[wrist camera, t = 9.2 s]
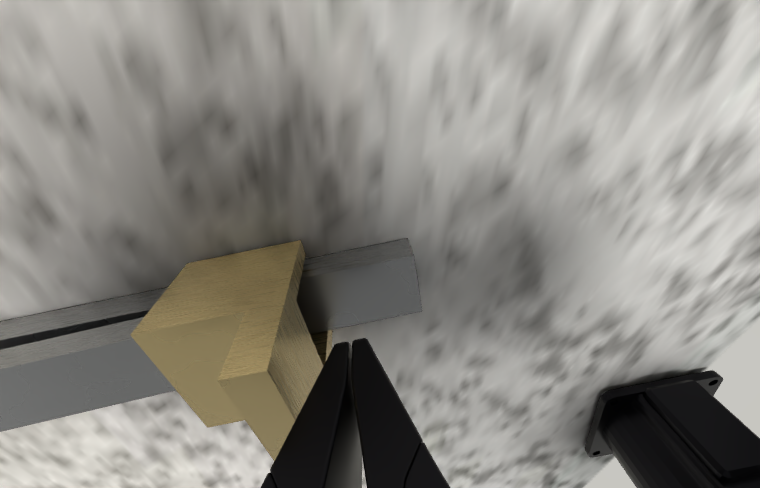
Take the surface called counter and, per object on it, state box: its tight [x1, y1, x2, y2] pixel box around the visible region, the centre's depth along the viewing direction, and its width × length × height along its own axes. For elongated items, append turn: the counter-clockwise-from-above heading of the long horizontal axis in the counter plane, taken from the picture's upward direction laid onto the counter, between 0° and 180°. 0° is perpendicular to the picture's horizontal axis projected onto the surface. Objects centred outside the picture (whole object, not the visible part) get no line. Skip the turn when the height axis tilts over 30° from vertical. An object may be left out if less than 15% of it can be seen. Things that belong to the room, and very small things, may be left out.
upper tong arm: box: [0, 317, 176, 432], centre depth 10 cm, size 16×3×1 cm, turn 100°
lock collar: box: [130, 240, 332, 461], centre depth 10 cm, size 4×4×5 cm
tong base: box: [0, 238, 422, 350], centre depth 11 cm, size 20×3×1 cm, turn 100°
